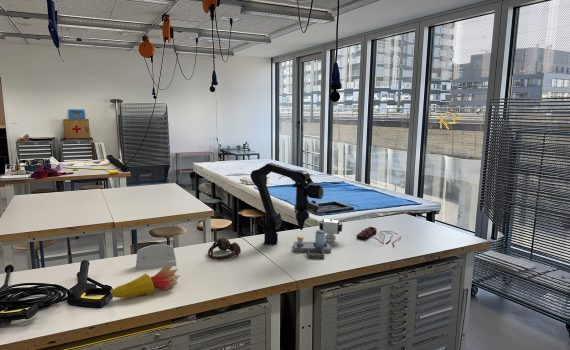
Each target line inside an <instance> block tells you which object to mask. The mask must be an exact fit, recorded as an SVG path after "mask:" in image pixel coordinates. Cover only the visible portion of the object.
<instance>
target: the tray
mask: <svg viewBox="0 0 570 350" xmlns="http://www.w3.org/2000/svg"><path fill="white" fill-rule="evenodd" d="M306 253H307V257H308V259H314V260H315V259H320V260H322V259H325V253H324V252H323V250H322V249H307V252H306Z"/></svg>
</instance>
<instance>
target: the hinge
mask: <svg viewBox="0 0 570 350" xmlns="http://www.w3.org/2000/svg"><path fill="white" fill-rule="evenodd" d="M175 253H176V252H175V249H174V246H172V245H168V244H152V245H147V246H145V247H142V248H140V249H138V250H137V252H136V261H135V262H136V263H135V268H136V270H137V272H139V271H145V270H152V269H153V270H155V269H161V268H162V269H163V268H164V267H165V266H166V265H169V264H172V263H175V264H174V265H173V266H172V267H174V266H175V267H177V258H176V254H175Z"/></svg>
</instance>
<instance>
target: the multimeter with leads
mask: <svg viewBox="0 0 570 350" xmlns="http://www.w3.org/2000/svg"><path fill="white" fill-rule="evenodd" d="M377 231H378V230H377V227H374V226H368V227H366V228H365V227H364V229H362V230H361V231H360V232H358V233H357V234H356V239H357V240H360V241H368V240H369V239H370V238H371V239H373V240H374V239H375V240H377V241H378V242H380V244H382V245H384V244H385V245H388V244H389V243H390V242H391V244H392V247H393V248H395V247H396V246H395V244H394V243H395V242H396V241H398V240H399V239H401V236H399V238H397V239H395V240H394V241H393V242H392V235H393V233H394V234H396V235H398V233H396V232H394V231H391V230H389V231H387V230H381V231H379V232H378V237H379V238H380V239H378V238H377V237H376V236H375V235H376V234H377ZM382 232H384V233H387V234H390V233H391V235H390V239H389V240H388V241H387V242H385V243H384V241H385V239H386V238H385V237H386V235H385V234H384V233H382ZM380 234H382V235H383V236H384V237H383V239H382V237H381V236H380Z"/></svg>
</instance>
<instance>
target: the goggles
mask: <svg viewBox="0 0 570 350" xmlns="http://www.w3.org/2000/svg"><path fill="white" fill-rule="evenodd" d="M216 248H218V249H219V250H220V251H221V250H224V251H223V252H226V251H227V250H228V251H229V250H230V251H229V252H230V253H228V254H225V255H213V252H214V249H216ZM241 253H242V249H241V246H240V244H239V243H237V242H235V241H234V242H230V240H228V239H227V238H224V237H219V238H217V239H216V240H215V241H214V242H213V243H212V245H211V246H210V247H209V248H208V250H207V256H208V257H209V258H210V259H211V258H212V260H214V259H217V260H216V261H223V260H228V259H230V258H234V257H237V256H238V255H240V254H241ZM235 255H236V256H235Z"/></svg>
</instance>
